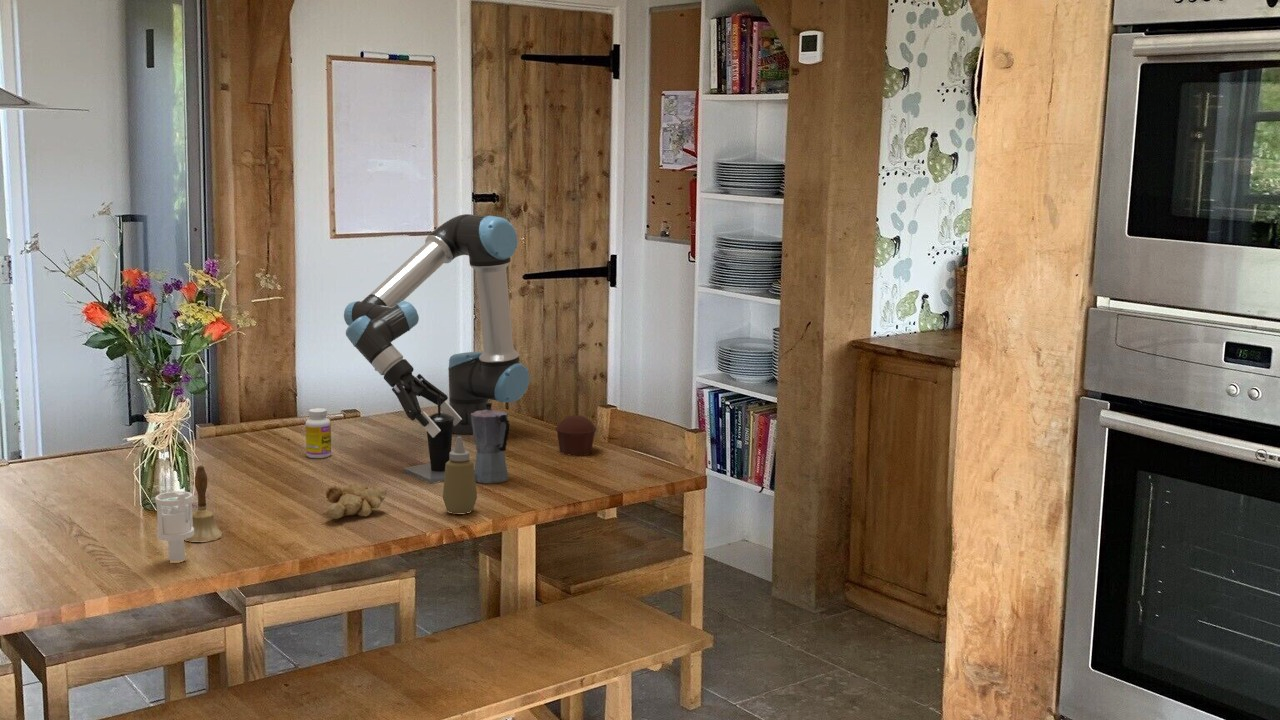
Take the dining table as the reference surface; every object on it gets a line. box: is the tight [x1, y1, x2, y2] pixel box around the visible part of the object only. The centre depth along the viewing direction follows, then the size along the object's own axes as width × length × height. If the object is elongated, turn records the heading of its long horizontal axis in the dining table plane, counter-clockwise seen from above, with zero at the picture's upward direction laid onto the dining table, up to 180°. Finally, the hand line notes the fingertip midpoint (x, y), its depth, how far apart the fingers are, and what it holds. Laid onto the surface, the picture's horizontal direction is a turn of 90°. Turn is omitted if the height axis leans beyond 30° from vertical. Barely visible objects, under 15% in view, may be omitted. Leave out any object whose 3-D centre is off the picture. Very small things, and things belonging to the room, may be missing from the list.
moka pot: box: [471, 402, 510, 484], centre depth 318 cm, size 10×15×20 cm, turn 45°
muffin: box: [555, 414, 597, 456], centre depth 350 cm, size 12×11×10 cm
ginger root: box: [322, 483, 388, 520], centre depth 291 cm, size 16×16×8 cm
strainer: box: [154, 490, 194, 561], centre depth 256 cm, size 7×7×15 cm
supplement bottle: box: [305, 407, 332, 459], centre depth 340 cm, size 7×7×13 cm
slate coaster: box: [402, 463, 475, 484], centre depth 326 cm, size 14×14×1 cm
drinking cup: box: [426, 394, 454, 472], centre depth 324 cm, size 8×8×20 cm
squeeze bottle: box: [442, 436, 478, 513], centre depth 292 cm, size 8×8×18 cm
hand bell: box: [186, 465, 223, 541], centre depth 271 cm, size 8×8×16 cm
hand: (448, 428), depth 323 cm, fingers open, 13 cm apart
